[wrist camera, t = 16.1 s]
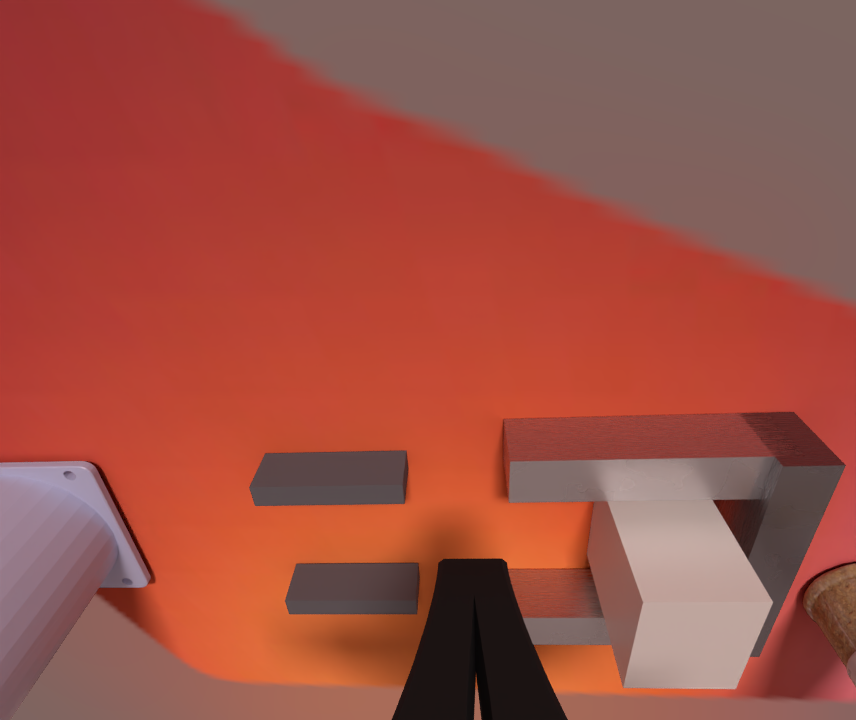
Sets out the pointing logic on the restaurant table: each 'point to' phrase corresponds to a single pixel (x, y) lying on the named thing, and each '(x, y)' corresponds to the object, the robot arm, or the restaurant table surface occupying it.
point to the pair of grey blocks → (341, 485)
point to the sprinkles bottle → (836, 612)
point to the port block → (669, 496)
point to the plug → (675, 593)
